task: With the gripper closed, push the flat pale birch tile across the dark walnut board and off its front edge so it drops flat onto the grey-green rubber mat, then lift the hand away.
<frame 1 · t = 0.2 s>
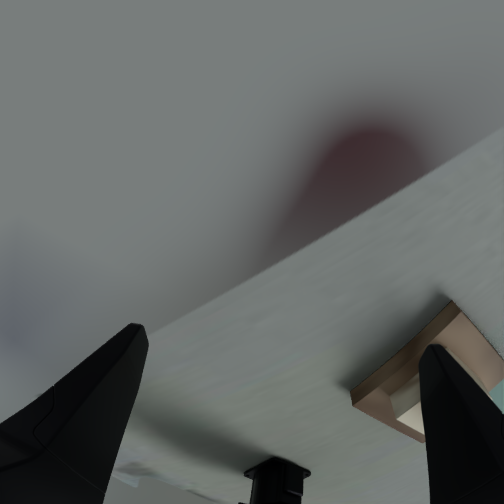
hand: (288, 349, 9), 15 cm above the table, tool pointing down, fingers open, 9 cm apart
walnut board: (435, 377, 27), on the table
birch tile: (439, 388, 25), point 2 cm above the table, touching walnut board
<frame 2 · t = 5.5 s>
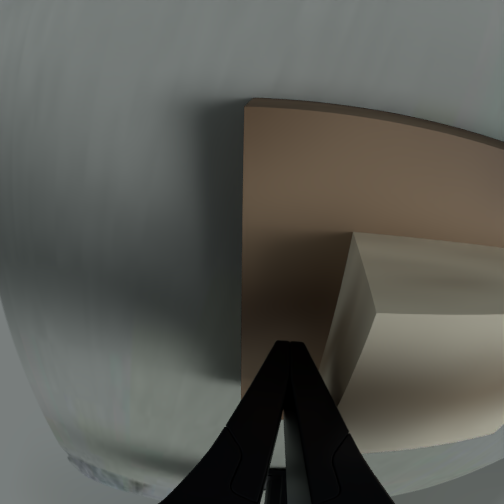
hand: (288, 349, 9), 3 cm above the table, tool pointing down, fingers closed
walnut board: (414, 294, 11), on the table
birch tile: (438, 329, 10), point 2 cm above the table, touching gripper, walnut board
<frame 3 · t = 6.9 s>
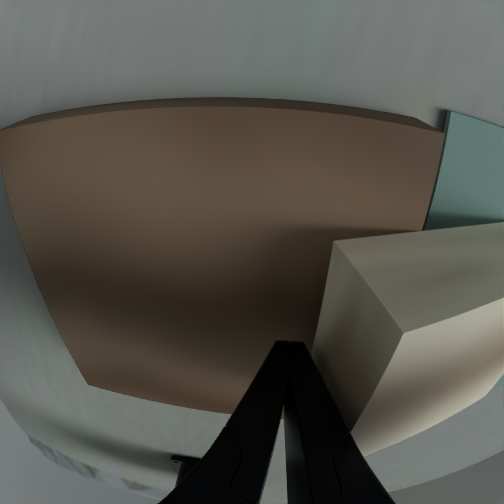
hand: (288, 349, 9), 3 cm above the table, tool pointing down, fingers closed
walnut board: (203, 278, 12), on the table
birch tile: (417, 316, 10), point 2 cm above the table, tilted 19°, touching gripper, rubber mat, walnut board
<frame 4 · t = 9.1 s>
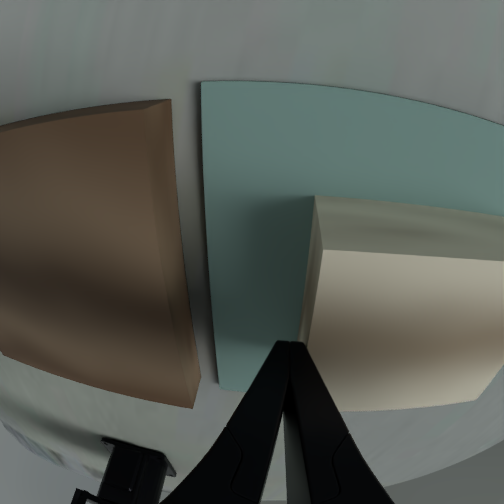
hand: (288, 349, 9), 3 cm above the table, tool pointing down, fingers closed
walnut board: (53, 262, 13), on the table
birch tile: (408, 291, 11), resting on rubber mat, touching gripper
rubber mat: (417, 293, 11), on the table
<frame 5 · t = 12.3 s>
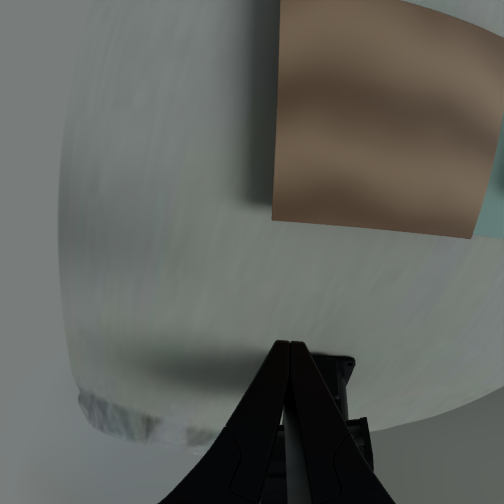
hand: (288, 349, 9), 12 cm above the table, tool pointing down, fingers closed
walnut board: (391, 113, 16), on the table
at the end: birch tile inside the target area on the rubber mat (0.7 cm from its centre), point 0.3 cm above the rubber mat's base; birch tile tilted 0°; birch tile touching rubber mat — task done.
